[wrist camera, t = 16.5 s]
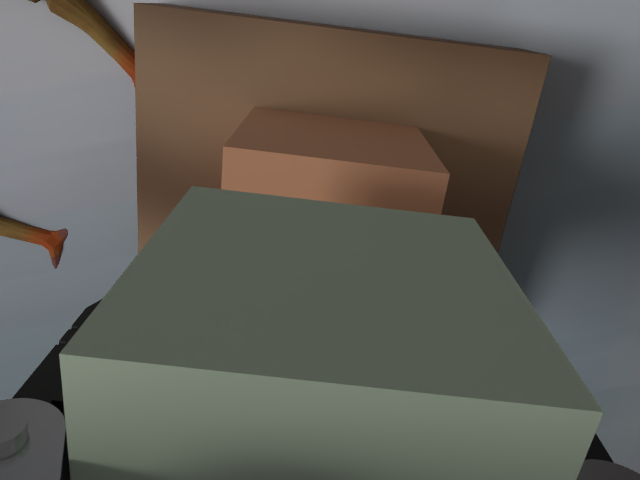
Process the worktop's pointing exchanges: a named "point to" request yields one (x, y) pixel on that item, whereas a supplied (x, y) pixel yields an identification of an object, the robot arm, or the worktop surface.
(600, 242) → the worktop surface
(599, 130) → the worktop surface
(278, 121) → the terracotta block
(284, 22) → the base board
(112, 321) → the sage block
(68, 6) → the toy
